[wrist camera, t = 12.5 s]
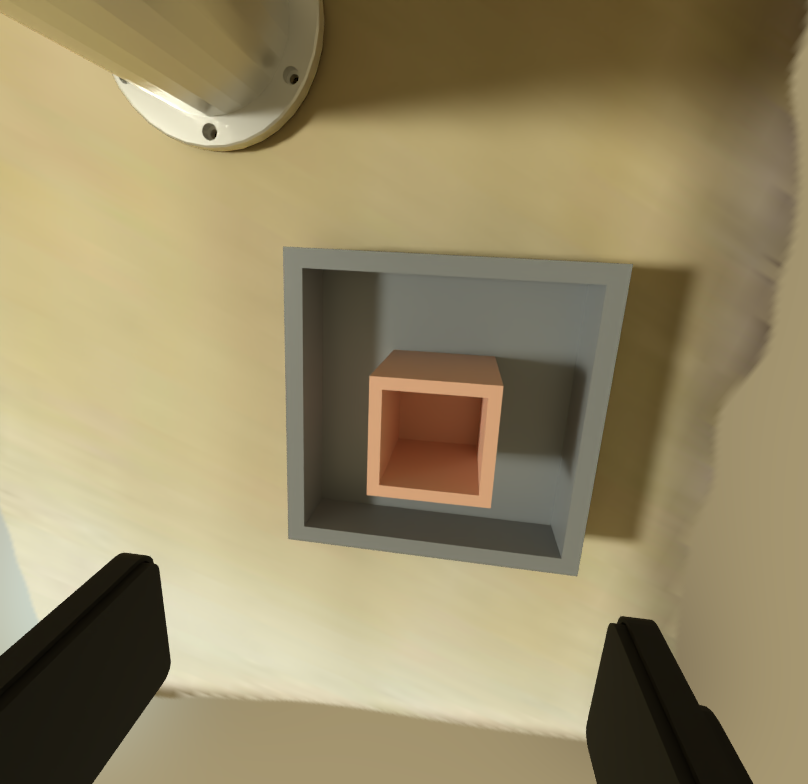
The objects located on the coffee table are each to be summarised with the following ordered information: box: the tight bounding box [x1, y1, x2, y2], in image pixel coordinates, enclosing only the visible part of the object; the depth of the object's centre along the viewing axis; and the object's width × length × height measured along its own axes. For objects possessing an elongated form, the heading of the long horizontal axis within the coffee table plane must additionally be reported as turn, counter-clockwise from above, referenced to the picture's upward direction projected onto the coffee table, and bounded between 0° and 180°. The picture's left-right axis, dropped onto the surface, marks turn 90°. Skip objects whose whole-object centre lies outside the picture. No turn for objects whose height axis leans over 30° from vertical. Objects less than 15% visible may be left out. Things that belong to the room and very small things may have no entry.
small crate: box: [367, 350, 503, 508], centre depth 25 cm, size 6×6×7 cm
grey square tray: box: [283, 247, 633, 576], centre depth 27 cm, size 17×17×4 cm
